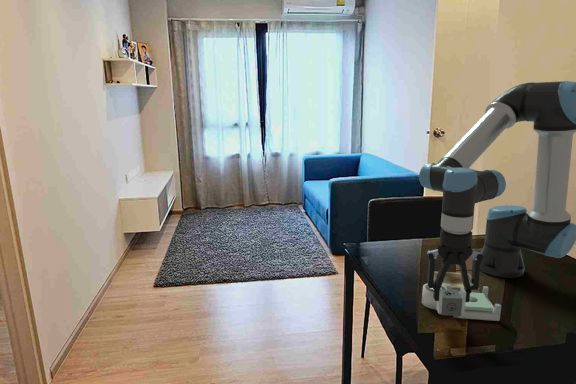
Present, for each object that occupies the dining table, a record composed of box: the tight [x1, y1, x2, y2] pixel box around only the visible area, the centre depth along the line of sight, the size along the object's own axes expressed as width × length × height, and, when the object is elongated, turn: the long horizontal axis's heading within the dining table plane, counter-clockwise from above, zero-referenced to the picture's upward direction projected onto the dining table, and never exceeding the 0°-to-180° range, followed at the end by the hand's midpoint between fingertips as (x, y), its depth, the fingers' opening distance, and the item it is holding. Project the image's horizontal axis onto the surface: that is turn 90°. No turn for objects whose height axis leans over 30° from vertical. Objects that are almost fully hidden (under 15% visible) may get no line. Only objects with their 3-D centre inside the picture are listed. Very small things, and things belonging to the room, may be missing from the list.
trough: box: [434, 271, 481, 293], centre depth 132 cm, size 12×11×3 cm
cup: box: [421, 283, 447, 311], centre depth 122 cm, size 7×7×5 cm
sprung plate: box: [459, 292, 493, 311], centre depth 119 cm, size 9×9×1 cm
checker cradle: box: [446, 284, 502, 322], centre depth 119 cm, size 12×12×4 cm
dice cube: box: [440, 289, 462, 316], centre depth 110 cm, size 5×5×5 cm
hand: (450, 311), depth 109 cm, fingers closed on dice cube, 5 cm apart
